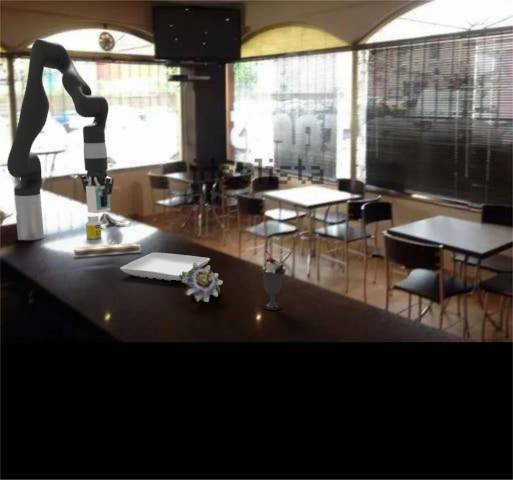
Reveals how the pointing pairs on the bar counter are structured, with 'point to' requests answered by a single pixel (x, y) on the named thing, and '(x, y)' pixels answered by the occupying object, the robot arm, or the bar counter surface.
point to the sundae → (272, 278)
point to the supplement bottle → (93, 227)
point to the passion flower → (201, 282)
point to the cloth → (111, 221)
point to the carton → (95, 200)
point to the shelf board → (106, 250)
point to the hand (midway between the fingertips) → (99, 206)
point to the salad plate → (163, 265)
